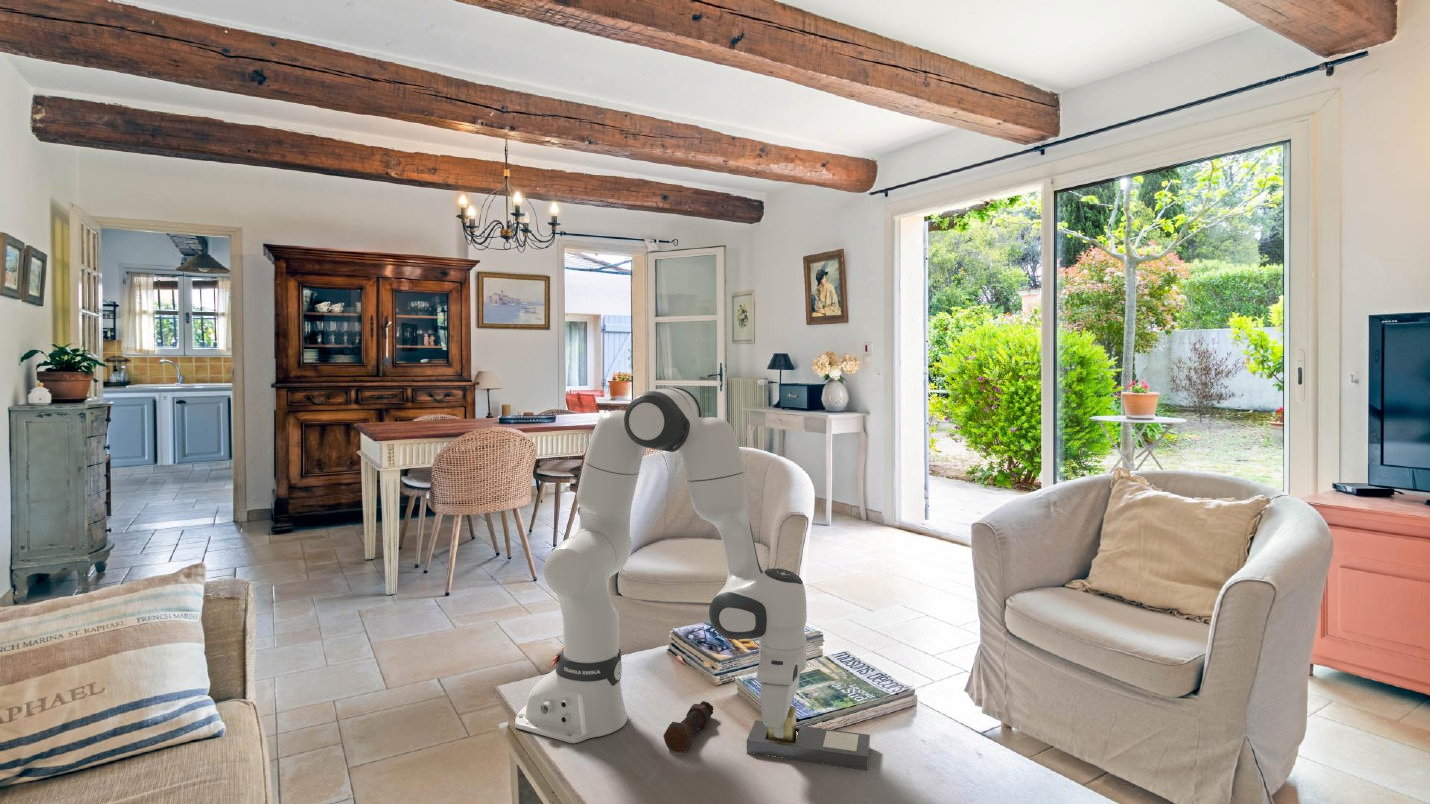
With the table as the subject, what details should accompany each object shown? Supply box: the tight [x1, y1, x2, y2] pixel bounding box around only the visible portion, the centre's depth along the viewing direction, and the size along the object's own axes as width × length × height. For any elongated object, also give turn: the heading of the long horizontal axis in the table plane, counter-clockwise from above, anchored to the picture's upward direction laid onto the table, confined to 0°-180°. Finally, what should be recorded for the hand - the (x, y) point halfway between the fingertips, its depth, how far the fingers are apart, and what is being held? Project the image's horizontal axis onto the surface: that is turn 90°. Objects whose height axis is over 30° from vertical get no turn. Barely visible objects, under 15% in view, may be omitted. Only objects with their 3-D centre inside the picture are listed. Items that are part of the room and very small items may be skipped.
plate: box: [746, 719, 871, 771], centre depth 139 cm, size 22×8×3 cm, turn 75°
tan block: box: [768, 705, 797, 743], centre depth 140 cm, size 4×4×7 cm
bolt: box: [663, 700, 714, 754], centre depth 145 cm, size 6×5×15 cm
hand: (782, 728), depth 140 cm, fingers closed on tan block, 4 cm apart
